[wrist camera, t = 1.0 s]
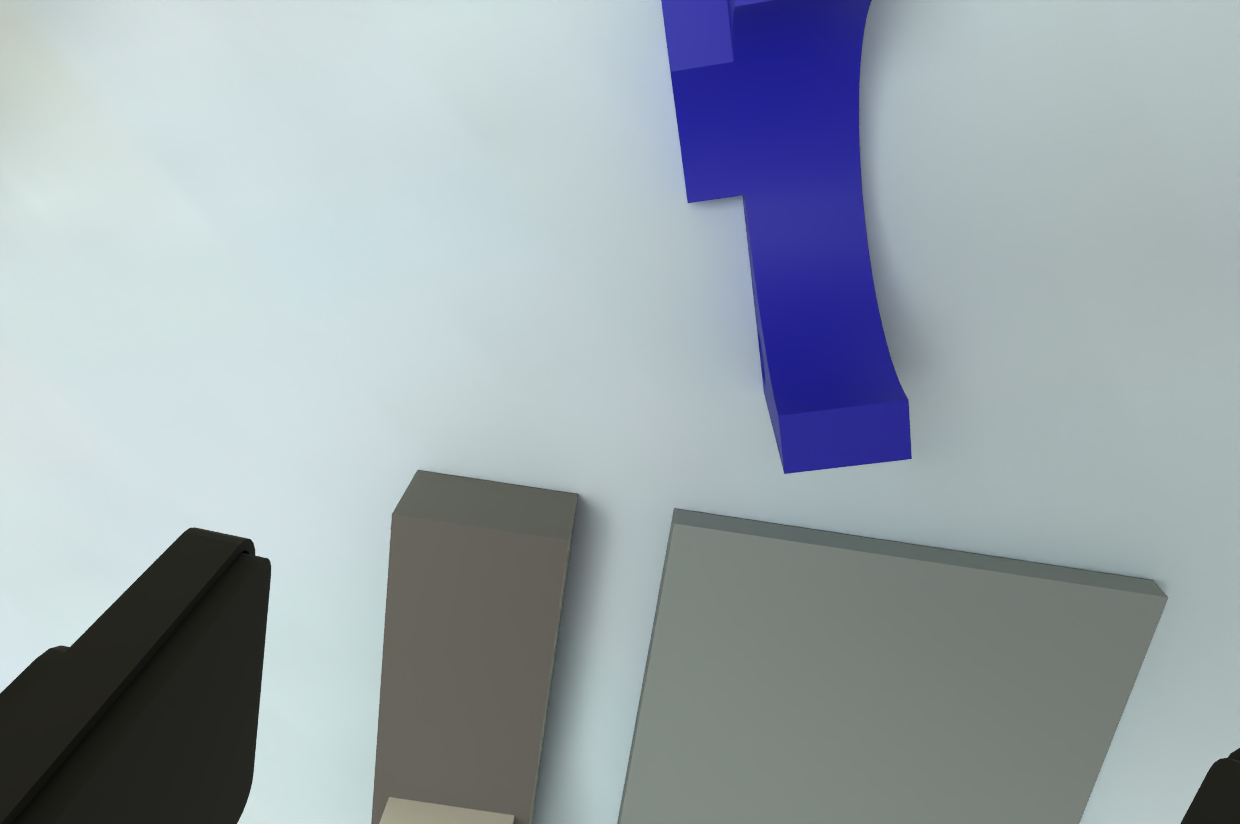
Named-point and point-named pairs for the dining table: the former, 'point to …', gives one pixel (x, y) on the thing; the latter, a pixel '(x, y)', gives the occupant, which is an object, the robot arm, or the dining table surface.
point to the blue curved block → (794, 211)
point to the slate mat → (876, 681)
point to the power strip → (469, 649)
